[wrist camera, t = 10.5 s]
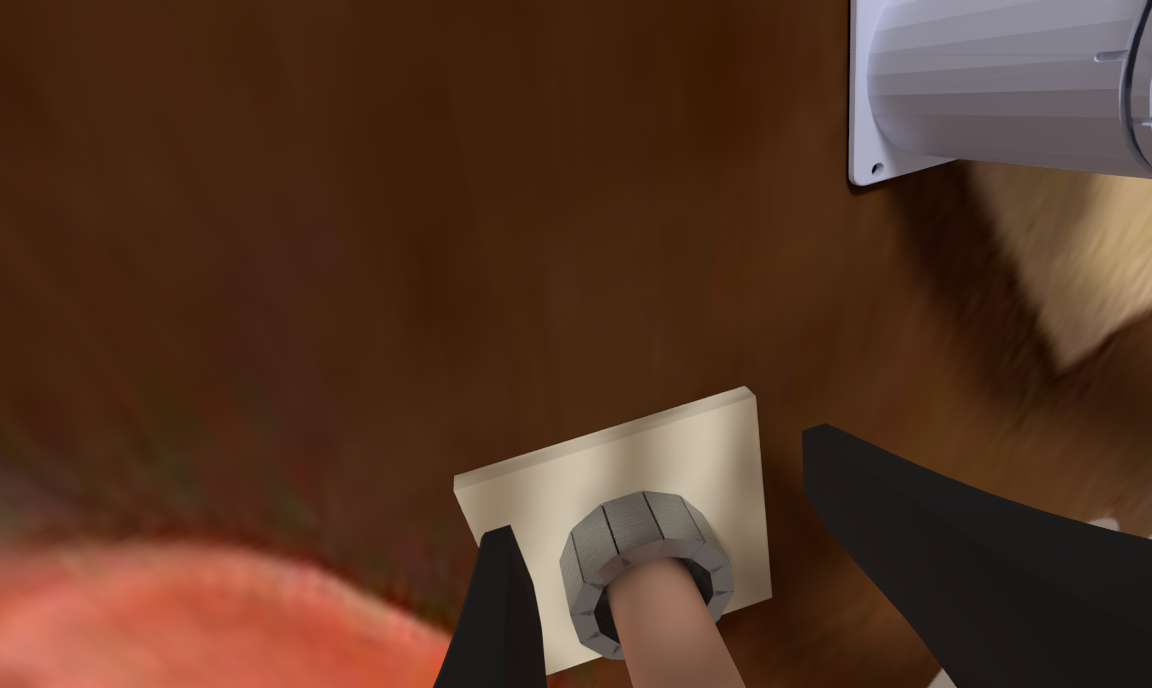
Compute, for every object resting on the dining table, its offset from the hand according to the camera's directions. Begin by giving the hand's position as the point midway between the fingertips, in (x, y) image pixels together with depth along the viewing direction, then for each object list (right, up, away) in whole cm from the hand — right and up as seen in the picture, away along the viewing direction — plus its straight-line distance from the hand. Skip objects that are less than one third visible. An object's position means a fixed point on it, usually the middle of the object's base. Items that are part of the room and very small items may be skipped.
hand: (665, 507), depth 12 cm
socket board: (+1, -6, +15) cm, 16 cm away
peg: (+1, -7, +14) cm, 15 cm away
